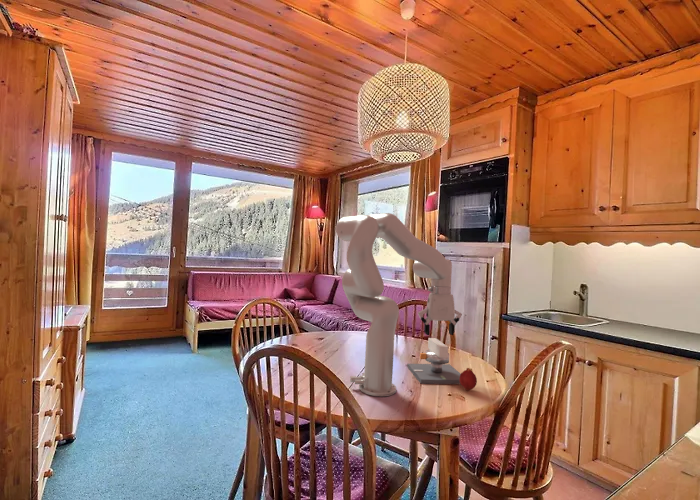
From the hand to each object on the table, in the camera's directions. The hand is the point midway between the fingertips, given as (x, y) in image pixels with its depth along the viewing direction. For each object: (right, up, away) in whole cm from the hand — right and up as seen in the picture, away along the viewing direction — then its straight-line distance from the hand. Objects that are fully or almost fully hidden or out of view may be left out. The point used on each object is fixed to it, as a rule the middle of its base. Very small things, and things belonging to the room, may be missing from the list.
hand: (439, 334), depth 139 cm
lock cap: (-2, -10, -1) cm, 10 cm away
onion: (+6, -16, -15) cm, 23 cm away
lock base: (-1, -16, 0) cm, 16 cm away
